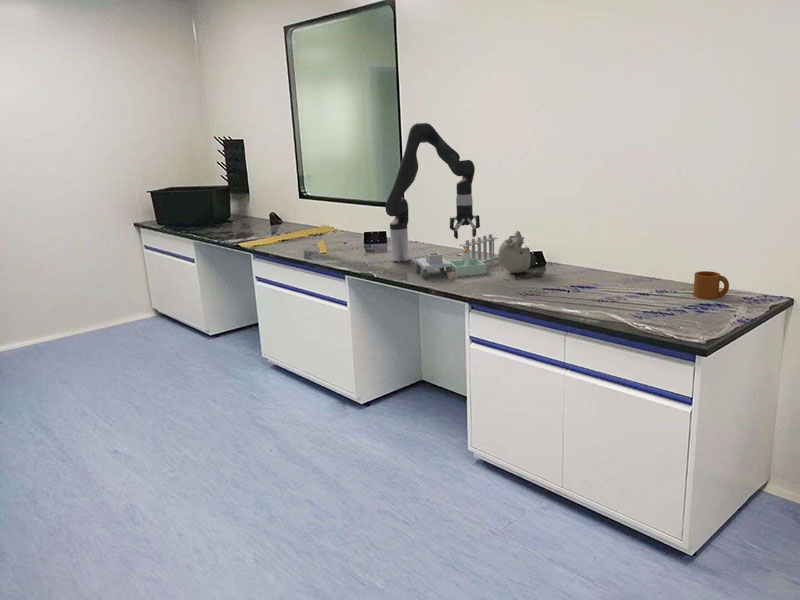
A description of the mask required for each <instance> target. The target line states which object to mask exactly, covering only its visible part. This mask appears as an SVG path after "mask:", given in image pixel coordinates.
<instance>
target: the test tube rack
mask: <svg viewBox="0 0 800 600" xmlns="http://www.w3.org/2000/svg"><path fill="white" fill-rule="evenodd" d="M482 236H483V237H482V238H481V236H478V237H477V240H476V237H472V238H471V242H470V239H466V240H465V244H459V247H463V249H468V250H469V251H470V247H471V254H469V259H471V258H476V245H477V259H478V260H480V261H482V262H483V263H485V264H486V263H487V262H492V261H494V260H497V259H498V260H499V256H495V240H498V239H499V238H498V237H493V234H492V233H490V234H489V233H488V237H487V235H482ZM487 242H488V245H487ZM482 248H483V249H482ZM487 248H488V249H487ZM487 250H488V251H487ZM482 251H483V252H482ZM482 253H483V258H482ZM470 255H471V258H470Z"/></svg>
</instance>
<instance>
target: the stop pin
mask: <svg viewBox="0 0 800 600" xmlns="http://www.w3.org/2000/svg"><path fill="white" fill-rule="evenodd" d="M469 255H470V249H469V250H468V249H466V248H465V249H464V248H463V249H462V259H463V266H469Z"/></svg>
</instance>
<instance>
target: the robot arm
mask: <svg viewBox="0 0 800 600" xmlns="http://www.w3.org/2000/svg"><path fill="white" fill-rule="evenodd" d="M422 143H428V144H430V145H432V147H434V148H435V150H436V151H435V152H436V153H437V156H438V157H439V158H440V159H441V160H442V161H443V162H444V163H445V164H446V165H447V167H448V168H449V169H450V171H451V172H452V174H453V175H455V176H456V177H462V178H461V179H460V180H459V181H458V182H456V199H455V200H456V204H455V205H456V206H455V207H456V208H455V209H456V216H450V218H449V230H451V231H453V236H454V238H455V239H456V240H458V239H459V235H458V234H459V231H458V230H459V229H460V228H461V226H471V228H472V229H471V235H472V236H471V237H472V238H476V236H477V229H480V228H481V221H480V215H478V214H475V215H473V212H474V211H473V202H474V201H473V193H472V186H473V185H472V184H473V180H474V175H475V169H476V167H475V164H474V162H473V161H472V160H470V159H464V160H463V159H462V160H460V159H461V157H460V154H459V153H458V152H457V151H456V150H455V149H454V148H453V147H451V146H450V145H449V144H448V143H447V142H446V141H445V140H444V138H443V137H441V135H440V134H439V133H438V132H437V130H436V129H435V127H433V126H432V124H430V123H428V122H424V123H423V122H416V123H414V124H412V125H411V127H410V128H409V132H408V135H407V141H406V144H405V150H404V151H403V152H404V153H403V157H402V159H401V163H400V166H399V168H398V172H397V175H396V177H395V181H394V183H393V187H392V189H391V191H390V193H389V195H388V198H387V200H386V202H385V206H384V207H385V212H386V214H387V215H388V216H389V217H394V219H393V220H392V221H391V222H390V224H389V233H390V248H391V249H390V250H391V251H390V252H391V261H392V262H395V261H397V263H398V262H399V263H400V262H401V261H402V262H407V261H410V252H409V250H410V249H409V235H408V231H409V229H408V224H409V203H408V200H407V199H406V198H405V197H403V196H404V194H406V192H407V191H408V189H409V188H410V187H411V186H412V185H413V183H414V182H415V180H416V177H417V174H418V170H419V161H418V158H417V157H418V156H417V153H418V149H419V147H420V146H419V145H420V144H422ZM473 220H475V224H474V223H473V222H474V221H473ZM456 221H457V222H456ZM455 222H456V224H455V225H454V223H455Z"/></svg>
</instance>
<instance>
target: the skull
mask: <svg viewBox="0 0 800 600" xmlns="http://www.w3.org/2000/svg"><path fill="white" fill-rule="evenodd" d="M524 240H525V236H523V235H522V234H521V231H518V230H516V231H515V233H514V235H511V236H509V237H508V238H507V239H504V240H503V242H502V243H501V244H500V246H499V248H498V256H497V257H498V260H499V262H500V264H501V265H502V267H503V269H504V270H506V271H508V272H509V273H511V274H521V273H523V272H525V271H526V270H528V269H529V268H530V267H531V249H530V247H528V245H527V246H525V247H523V244H524V243H525V241H524ZM524 245H525V244H524Z"/></svg>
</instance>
